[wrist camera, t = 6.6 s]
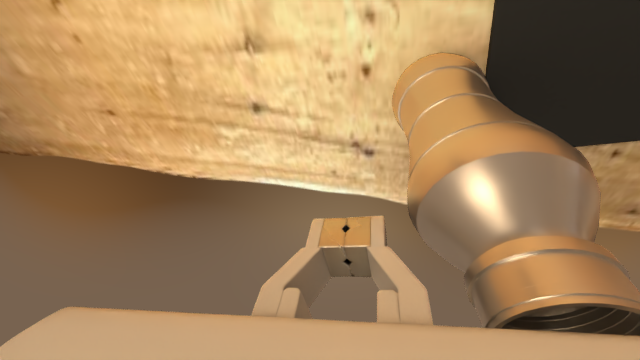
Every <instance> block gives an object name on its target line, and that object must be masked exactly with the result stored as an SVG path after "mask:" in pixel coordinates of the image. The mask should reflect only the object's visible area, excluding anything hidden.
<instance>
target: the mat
mask: <svg viewBox="0 0 640 360" xmlns="http://www.w3.org/2000/svg"><path fill="white" fill-rule="evenodd" d="M485 78H486V80H487V82H488V84H489V88H490V90H491V92H492V93H493V95H494V96H495V97H496V99H497V100H498V101H499V102H501V103H502V104H503V105H505V106H506V107H507V108H509V109H510V110H511V111H513V112H514V113H515V114H517V115H519V116H521V117H523V118H525V119H527V120H529V121H531V122H533V123H535V124H537V125H539V126H540V127H542V128H544V129H546V130H548V131H550V132H552V133H554V134H555V135H557V136H558V137H560V138H561V139H563V140H564V141H566V142H567V143H569V144H570V145H572V146H573V147H578V146H588V145H599V144H609V143H619V142H629V141H640V0H495V3H494V11H493V19H492V27H491V35H490V43H489V51H488V59H487V67H486V75H485Z"/></svg>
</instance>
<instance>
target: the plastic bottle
mask: <svg viewBox="0 0 640 360" xmlns="http://www.w3.org/2000/svg"><path fill="white" fill-rule="evenodd" d="M392 107H393V112H394V115H395V118H396V120H397V122H398V124H399V125H400V127H401V128H402V130H403V131H404V132H405V135H406V137H407V140H408V143H409V154H410V165H409V177H408V189H407V197H408V210H409V216H410V218H411V220H412V223H413V225H414V226H415V228H416V230H417V231H418V233H419V234H420V236H421V238H422V239H423V240H424V241H425V243H426V244H427V245H428V246H429V247H430V248H431V249H433V250H434V251H435V252H436V253H438V254H439V255H440V256H441V257H443V258H444V259H445V260H447V261H448V262H449V263H450V264H452V265H454V266H455V267H456V268H458V269H460V270H461V271H463V272H465V275H464V285H465V288H466V291H467V294H468V297H469V300H470V302H471V303H472V305H473V306H474V307H475V308H476V310H477V313H478V316H479V319H480V322H481V325H482V328H497V329H517V330H536V331H555V332H575V333H594V334H614V335H633V336H640V292H639V291H638V289H637V288H636V287H635V286H634V285H633V284H632V283H631V282H630V277H629V274H628V271H627V270H626V269H625V268H624V267H623V265H622V264H621V263H620V262H619V261H618V260H617V259H616V258H615V256H614V255H613V254H612V253H611V252H610V251H609V250H607V249H606V248H604V247H602V246H601V245H599V244H596V243H594V240H595V237H596V234H597V230H598V226H599V213H600V198H601V193H600V189H599V186H598V183H597V180H596V178H595V176H594V173H593V171H592V168H591V166H590V164H589V162H588V161H587V160H586V158H585V157H584V156H583V154H582V153H581V152H580V151H579V150H577V149H576V148H574V147H573V146H572V145H570V144H569V143H567V142H566V141H564V140H563V139H561V138H560V137H558V136H557V135H555V134H554V133H552V132H550V131H548V130H546V129H544V128H542V127H540V126H539V125H537V124H535V123H533V122H531V121H529V120H527V119H525V118H523V117H521V116H519V115H517V114H515V113H514V112H513V111H511V110H510V109H509V108H507V107H506V106H505V105H503V104H502V103H501V102H499V101H498V100H497V99H496V97H495V96H494V95H493V93H492V92H491V90H490V88H489V84H488V82H487V80H486V78H485V76H484V74H483V72H482V70H481V69H480V68H479V67H478V66H477V64H475V63H474V62H473V61H471V60H470V59H468V58H466V57H463V56H461V55H455V54H449V53H437V54H432V55H428V56H426V57H423V58H421V59H419V60H417V61H416V62H414V63H413V64H411V65H410V66H409V67H408V68H407V69H406V70H405V71H404V72H403V74H402V75H401V76H400V78H399V80H398V82H397V84H396V87H395V90H394V93H393V99H392Z"/></svg>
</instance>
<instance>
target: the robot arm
mask: <svg viewBox="0 0 640 360" xmlns="http://www.w3.org/2000/svg"><path fill="white" fill-rule="evenodd" d="M341 276H342V277H343V276H355V277H372V279H373V281H374V282H375V284H376V285H377V287H378V289H379V290H380V291H379V292H378V293H377V322H360V321H340V320H321V319H313V318H312V316H311V314H310V311H309V308H310V306H311V305H312V303H313V302H314V301H315V299H316V298H317V297H318V295H319V294H320V292H321V291H322V290H323V288H324V287H325V286H326V284H327V283H328V281H329V280H330V279H331V277H341ZM0 360H640V336H633V335H614V334H594V333H575V332H555V331H536V330H517V329H497V328H477V327H458V326H439V325H433V321H432V315H431V309H430V304H429V298H428V293H427V289H426V288H425V287H424V286H423V285H422V283H421V282H420V281H419V280H418V279H417V278H416V277H415V275H414V274H413V273H412V272H411V271H410V270H409V269H408V267H407V266H406V265H405V264H404V263H403V262H402V261H401V259H400V258H399V257H398V256H397V255H396V254H395V253H394V252H393V250H392V249H391V248H390V247H389V246H387V239H386V229H385V220H384V216H367V217H351V218H350V217H349V218H325V219H313V221H312V224H311V227H310V231H309V235H308V239H307V243H306V246H305V248H301V249H300V250H299V251H298V252H297V253H296V254H295V255H294V256H293V257H292V258H291V259H290V260H289V261H288V262H287V263H286V264H285V265H284V266H282V267H281V268H280V269H279V270H278V271H277V272H276V273H275V274H274V275H273V276H272V277H271V278H270V279H269V280H268V281H267V282H266V283H265V284H264V285H262V287H261V290H260V293H259V295H258V298H257V301H256V304H255V306H254V309H253V312H252V314H251V316H244V315H224V314H205V313H204V314H203V313H186V312H167V311H148V310H128V309H109V308H90V307H66V308H63V309H61V310H59V311H57V312H55V313H53V314H52V315H50V316H48V317H46V318H44V319H43V320H41V321H39V322H38V323H36V324H34V325H33V326H31V327H29V328H28V329H26V330H24V331H23V332H21V333H20V334H18V335H16V336H15V337H13V338H12V339H10V340H9V341H8V342H6V343H5V344H4V345H2V346H1V347H0Z"/></svg>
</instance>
